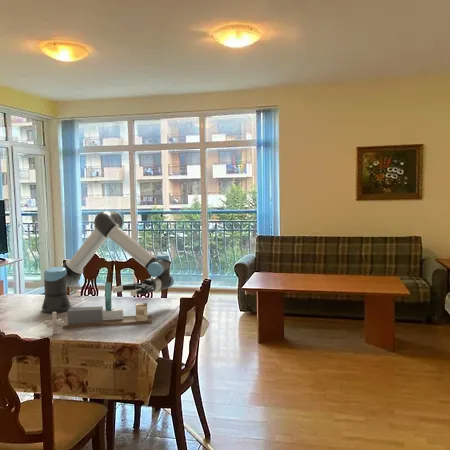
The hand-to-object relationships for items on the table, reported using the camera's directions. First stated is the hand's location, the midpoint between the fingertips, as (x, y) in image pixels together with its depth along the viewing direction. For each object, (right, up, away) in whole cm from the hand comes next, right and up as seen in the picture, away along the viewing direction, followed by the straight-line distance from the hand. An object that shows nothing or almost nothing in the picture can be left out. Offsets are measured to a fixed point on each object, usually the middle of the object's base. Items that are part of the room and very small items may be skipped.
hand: (121, 291), depth 234 cm
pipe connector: (-25, -16, -24) cm, 38 cm away
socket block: (+11, -13, -4) cm, 17 cm away
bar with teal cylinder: (-10, -12, -7) cm, 17 cm away
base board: (-5, -14, -6) cm, 16 cm away
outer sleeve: (-16, -13, -8) cm, 22 cm away
